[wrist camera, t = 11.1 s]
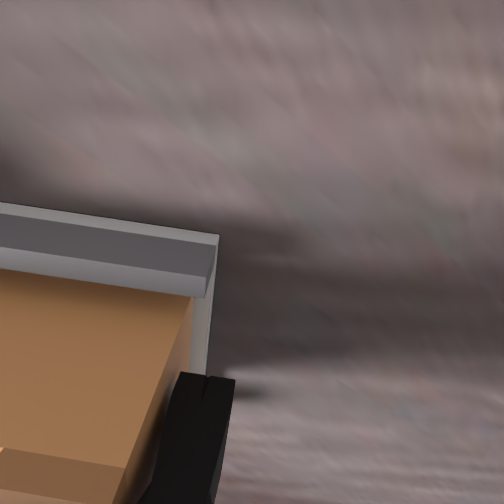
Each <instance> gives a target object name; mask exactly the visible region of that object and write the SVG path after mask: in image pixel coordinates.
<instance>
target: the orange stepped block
mask: <svg viewBox="0 0 504 504" xmlns="http://www.w3.org/2000/svg"><path fill="white" fill-rule="evenodd" d="M193 303H194V297H189V296H182V295H176V294H169V293H162V292H155V291H149V290H142V289H135V288H129V287H122V286H115V285H108V284H102V283H95V282H88V281H82V280H75V279H68V278H61V277H55V276H48V275H41V274H35V273H28V272H21V271H14V270H8V269H1V268H0V504H136V503H137V502H138V500H139V499H140V498H141V496H142V495H143V493H144V492H145V490H146V489H147V487H148V485H149V484H150V482H151V480H152V475H153V471H154V467H155V462H156V458H157V453H158V449H159V444H160V440H161V436H162V431H163V427H164V422H165V418H166V414H167V409H168V405H169V401H170V397H171V394H172V392H173V389H174V386H175V384H176V381H177V379H178V376H179V374H180V371H183V372H189V364H190V349H191V334H192V318H193Z"/></svg>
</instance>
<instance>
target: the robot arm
mask: <svg viewBox="0 0 504 504" xmlns="http://www.w3.org/2000/svg"><path fill="white" fill-rule="evenodd" d="M234 387H235V380H234V379H228V378H221V377H215V376H210V377H208V378H207V376H206V375H202V374H196V373H189V372H183V371H180V374H179V376H178V379H177V381H176V384H175V386H174V389H173V392H172V394H171V397H170V401H169V405H168V409H167V414H166V418H165V422H164V427H163V431H162V436H161V440H160V444H159V449H158V453H157V458H156V462H155V467H154V471H153V475H152V480H151V482H150V484H149V485H148V487H147V489H146V490H145V492H144V493H143V495H142V496H141V498H140V499H139V500H138V502H137V503H136V504H214V501H215V497H216V493H217V488H218V484H219V480H220V476H221V470H222V464H223V457H224V451H225V445H226V439H227V433H228V427H229V420H230V414H231V408H232V401H233V394H234Z"/></svg>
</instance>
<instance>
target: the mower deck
mask: <svg viewBox="0 0 504 504" xmlns="http://www.w3.org/2000/svg"><path fill="white" fill-rule="evenodd" d="M218 244H219V235H217V234H210V233H204V232H197V231H190V230H184V229H177V228H170V227H164V226H157V225H150V224H144V223H137V222H130V221H124V220H117V219H110V218H104V217H97V216H90V215H84V214H77V213H70V212H64V211H57V210H50V209H43V208H37V207H30V206H23V205H17V204H10V203H3V202H0V268H1V269H8V270H14V271H21V272H28V273H35V274H41V275H48V276H55V277H61V278H68V279H75V280H82V281H88V282H95V283H102V284H108V285H115V286H122V287H129V288H135V289H142V290H149V291H155V292H162V293H169V294H176V295H182V296H189V297H194V303H193V318H192V334H191V349H190V364H189V373H196V374H202V375H205V373H206V363H207V353H208V343H209V333H210V323H211V313H212V303H213V294H214V284H215V274H216V264H217V254H218Z"/></svg>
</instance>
